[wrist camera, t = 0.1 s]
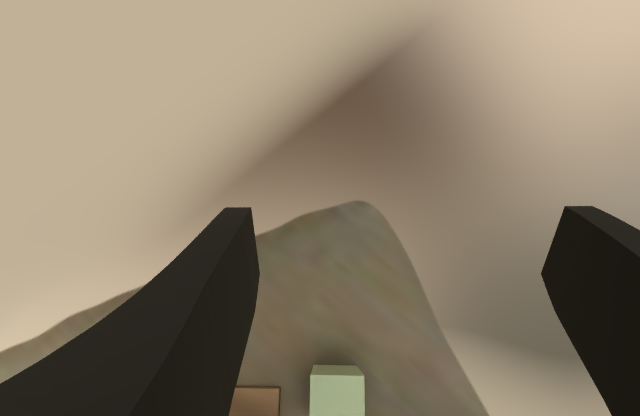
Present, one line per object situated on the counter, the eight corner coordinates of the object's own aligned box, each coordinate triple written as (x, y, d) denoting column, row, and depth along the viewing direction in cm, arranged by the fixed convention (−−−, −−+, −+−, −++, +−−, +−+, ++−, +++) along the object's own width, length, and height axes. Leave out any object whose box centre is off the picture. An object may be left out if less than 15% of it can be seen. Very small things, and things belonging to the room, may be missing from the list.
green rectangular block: (357, 412, 39) (364, 435, 31) (312, 411, 39) (309, 434, 31) (357, 365, 40) (364, 375, 32) (313, 364, 40) (310, 374, 32)
